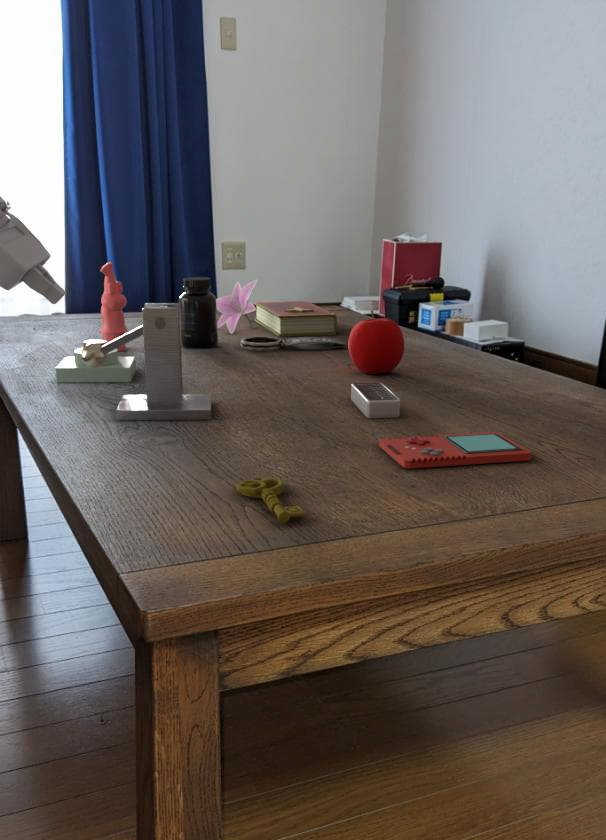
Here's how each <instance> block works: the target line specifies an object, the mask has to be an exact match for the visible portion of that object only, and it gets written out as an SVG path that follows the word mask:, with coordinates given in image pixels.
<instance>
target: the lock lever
mask: <svg viewBox="0 0 606 840" xmlns="http://www.w3.org/2000/svg"><path fill="white" fill-rule="evenodd" d="M165 307H168V306H165ZM142 336H143V324H142V325H139V326H138V327H136V328H134V329H132V330H130V331H127V332H125V334H124V335H122V336H121V337H119V338H117V339H115V340H113V341H111V342H109V343H107V344H105V345H103V346H101V345H100V344H97V343H89V344H87V345H85V346H84V345H83V347H82V348H83V349H82V352H81V358H82V361H83V362H84V364H85V365H87V366H88V367H91V368H98V367H100V366H102V365H103V364H104V362H105V361H106V354H107V353H109V352H111V351H113V350H115V349H117V348H118V347H120V346H122V345H124V344H125V345H126V344H128V343H130V342H132V341H134V340H136V339H138V338H139V337H142Z"/></svg>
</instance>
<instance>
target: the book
mask: <svg viewBox="0 0 606 840" xmlns="http://www.w3.org/2000/svg"><path fill="white" fill-rule="evenodd" d="M253 305H254V306H255V307H256V318H254V320H253V321H254V322H256V323H257V324H259V325H261V326H262V327H263V328H265V329H266V330H268V331H270V332H271V333H273V334H274V335H276V336H277V337H278V338H279V337H308V336H329V335H330V336H331V335H332V336H334V335H336V333H337V330H338V317H337V314H336V313H334V312H331V311H329V310H327V309H324V308H322V307H320V306H318V305H317V304H314V303H312V302H309V301H307V300H284V301H283V300H282V301H278V300H277V301H254V303H253Z"/></svg>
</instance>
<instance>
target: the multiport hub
mask: <svg viewBox="0 0 606 840" xmlns="http://www.w3.org/2000/svg"><path fill="white" fill-rule="evenodd" d="M350 385H351V390H350V400H351V401H352V403H353V404H354V405H355V406H356V407H357V408H358V410H359V411H360V412H361V413H362V414H363V415H364V416H365V418H366V419H391V418H392V419H393V418H395V419H396V418H397V419H398V418H400V413H401V409H400V408H401V400H400V398H398V396H396V395H395V394H394V393H393V392H392V391H391V390H390V389H388V387H386V385H384V383H382V382H353V383H351V384H350Z"/></svg>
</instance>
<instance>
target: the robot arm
mask: <svg viewBox="0 0 606 840" xmlns="http://www.w3.org/2000/svg"><path fill="white" fill-rule="evenodd" d="M11 208H12V204H11V202H9V201H8V200H7V199H6V198H5V197H4V196H3V195H1V194H0V288H2V289H3V290H5V291H10V290H12V289H14V288H15V287H16V286H18V285H19V284H22V283H24V284H25V285H26V286H27V287H28V288H29V289H31V290H33V291H35V292H36V293H38V294H39V295H41V296H43V297H44V298H45V300H47V301H48V302H49V303H50V304H52V305H56V304H57V303H58V302H60V301H61V300H62V299H63V297H64V296H65V295H66V291H65V289H64V288H63V287H62V286H60V284H58V282H56V281H55V279H54V277H53V276H52V275H51V274H50V272H49V271H48V270H47V268H45V267H44V265H45V264H46V263H47V262H48V261H49V259H50V258H51V253H50V251H49V250H48V248H47V247H46V246H45V244H44V243H43V242H42V241H41V240H40V239H39V237H38V236H37V235H36V234H35V233H34V232H33V231H32V230H31V229H30V228H29V227H28V226H27V224H25V223H24V222H23V220H22V219H20V218H19V217H18V216H17V214H15V213H14V212H13V211H11Z"/></svg>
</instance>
